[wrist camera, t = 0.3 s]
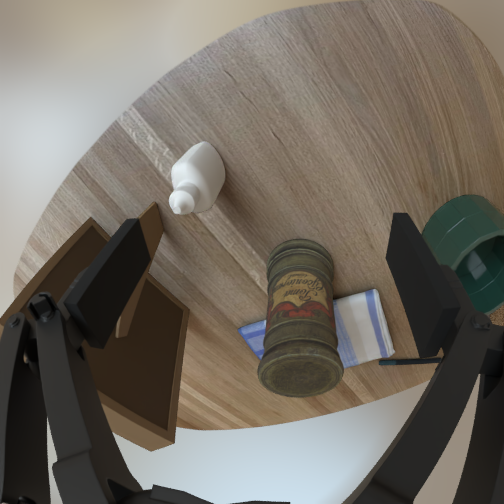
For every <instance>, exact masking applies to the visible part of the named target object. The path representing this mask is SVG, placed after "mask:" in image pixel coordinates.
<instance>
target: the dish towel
mask: <svg viewBox="0 0 504 504" xmlns="http://www.w3.org/2000/svg"><path fill="white" fill-rule="evenodd" d="M333 306H334V315H335V322H336V334H337V337H338V347H337V350H338V353H339V355H340V359H341V361H342V363H343V366H344V368H348V367H351V366H355V365H359V364H361V363H365V362H367V361H371V360H374V359H378V358H383V357H387V358H388V357H389V356H392V355H393V353H395V350H394V349H393V344H392V340H391V336H390V333H389V330H388V326H387V322H386V318H385V315H384V312H383V309H382V305H381V302H380V297H379V293H378V291H377V290H376V289H372V290H368V291H366V292H362V293H358V294H354V295H351V296H347V297H344V298H340V299H336V300H333ZM265 328H266V320H263V321H260V322H256V323H253V324H249V325H246V326H243V327H241V328H239V329H238V332H239V333H240V334H241V335H242V337H243V338H244V339H245V341H246V342H247V344H248V345H249V347H250V348H251V349H252V350H253V352H254V353H255V354H256V355H257V356H258V358H259V359H260V360H261V359H262V356H263V354H264V347H263V339H264V336H265Z"/></svg>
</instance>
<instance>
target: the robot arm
mask: <svg viewBox="0 0 504 504" xmlns="http://www.w3.org/2000/svg"><path fill="white" fill-rule="evenodd" d="M386 260H387V263H388V265H389V268H390V270H391V273H392V276H393V278H394V281H395V284H396V286H397V289H398V292H399V295H400V297H401V300H402V303H403V306H404V309H405V312H406V315H407V318H408V321H409V324H410V327H411V330H412V333H413V337H414V340H415V343H416V346H417V350H418V353H419V357H420V358H425V357H433V356H436V355H437V354H438V352H439V350H440V348H441V347H442V350H443V353H444V356H443V357H442V359H441V361H440V362H439V364H438V366H437V367H436V369H435V370H436V371H435V373H434V375H433V377H432V378H431V380H430V382H429V384H428V386H427V388H426V389H425V391H424V393H423V395H422V396H421V398H420V400H419V401H418V403H417V405H416V406H415V408H414V410H413V411H412V413H411V415H410V416H409V418H408V419H407V421H406V422H405V424H404V426H403V427H402V428H401V430H400V432H399V433H398V434H397V436H396V438H395V439H394V440H393V442H392V443H391V445H390V446H389V447H388V449H387V450H386V451H385V453H384V454H383V456H382V457H381V458H380V459H379V461H378V462H377V464H376V465H375V466H374V467H373V469H372V470H371V471H370V472H369V474H368V475H367V476H366V477H365V478H364V480H363V481H362V482H361V483H360V485H359V486H358V487H357V488H356V489H355V490H354V491H353V493H352V494H351V495H350V496H349V497H348V498H347V499H346V500H345V501H344V502H343V503H342V504H413V501H414V499H415V497H416V495H417V494H418V492H419V491H420V489H421V488H422V486H423V485H424V483H425V482H426V480H427V478H428V477H429V475H430V474H431V472H432V470H433V469H434V467H435V465H436V464H437V462H438V460H439V458H440V457H441V455H442V453H443V451H444V450H445V448H446V446H447V444H448V442H449V440H450V438H451V436H452V434H453V432H454V430H455V428H456V426H457V424H458V422H459V420H460V418H461V416H462V413H463V411H464V409H465V407H466V404H467V402H468V400H469V397H470V395H471V393H472V390H473V387H474V385H475V382H476V380H477V377H478V374H480V384H479V392H478V400H477V407H476V414H475V419H474V425H473V430H472V435H471V440H470V444H469V449H468V453H467V457H466V461H465V465H464V468H463V472H462V475H461V479H460V482H459V485H458V488H457V492H456V495H455V498H454V500H453V503H452V504H504V326H499V325H494V324H492V322H491V320H490V318H489V317H488V316H487V315H486V314H484V313H483V312H480V311H477V310H476V309H475V307H474V305H473V304H472V302H471V300H470V298H469V296H468V294H467V292H466V290H465V289H464V288H463V285H462V283H461V282H460V280H459V278H458V276H457V275H456V273H455V271H453V270H452V269H451V268H450V267H449V266H448V265H439V264H438V262H437V261H436V259H435V257H434V255H433V254H432V252H431V250H430V249H429V247H428V245H427V244H426V242H425V240H424V239H423V237H422V235H421V234H420V232H419V231H418V229H417V227H416V226H415V224H414V223H413V221H412V220H411V218H410V216H409V215H408V213H393V220H392V226H391V232H390V237H389V243H388V248H387V254H386ZM150 261H151V257H150V254H149V251H148V248H147V244H146V241H145V238H144V234H143V231H142V227H141V224H140V221H139V218H134V219H127V220H126V221H125V222H124V223H123V224H122V225H121V227H120V228H119V229H118V230H117V232H116V233H115V234H114V235H113V236H112V238H111V239H110V240H109V241H108V243H107V244H106V245H105V246H104V248H103V249H102V250H101V252H100V253H99V254H98V255H97V257H96V258H95V259H94V261H93V262H92V263H91V265H90V266H89V267H87V268H85V269H84V270H83V271H82V272H80V273H79V274H78V276H77V277H76V278H75V280H74V282H72V284H71V285H70V286H69V287H70V288H68V289H67V291H66V292H65V293H64V295H63V296H62V298H61V299H60V300H59V302H58V303H57V304H56V302H55V301H54V299H53V297H52V295H51V294H50V293H49V292H47V291H46V292H40V293H38V294H36V295H35V296H33V297H32V298H31V299H30V301H29V302H28V305H27V309H28V310H29V312H30V313H31V315H32V316H33V318H34V319H30V320H27V318H26V317H25V315H24V314H23V313H21V312H18V313H15V314H13V315H12V316H10V317H9V318H8V320H7V321H6V323H5V325H4V328H3V332H2V335H1V339H0V504H51V498H50V485H49V473H48V455H47V417H48V422H49V425H50V430H51V435H52V439H53V443H54V446H55V450H56V454H57V462H55V463H53V466H52V470H53V475H54V478H55V481H56V484H57V487H58V490H59V493H60V496H61V499H62V502H63V504H213V503H211V502H208V501H206V500H203V499H201V498H198V497H196V496H194V495H191V494H189V493H187V492H184V491H180V490H175V489H171V488H166V487H161V486H158V485H153V487H152V489H150V490H143V489H142V487H141V486H140V484H139V483H138V482H137V480H136V479H135V478H134V477H133V476H132V474H131V473H130V471H129V469H128V468H127V465H126V463H125V461H124V459H123V457H122V454H121V452H120V450H119V447H118V445H117V443H116V441H115V438H114V436H113V433H112V431H111V428H110V426H109V423H108V420H107V418H106V415H105V412H104V410H103V407H102V404H101V401H100V398H99V395H98V392H97V389H96V386H95V383H94V380H93V377H92V374H91V370H90V367H89V363H88V360H87V356H86V353H85V349H84V347H83V346H82V342H83V341H84V339H85V340H86V341H87V343H88V344H89V346H90V347H93V348H98V349H104V347H105V345H106V343H107V341H108V339H109V337H110V335H111V333H112V331H113V329H114V327H115V325H116V323H117V322H118V320H119V318H120V316H121V314H122V312H123V310H124V308H125V306H126V304H127V303H128V301H129V299H130V297H131V295H132V293H133V292H134V290H135V288H136V286H137V284H138V283H139V281H140V279H141V277H142V275H143V274H144V272H145V270H146V268H147V267H148V265H149V263H150ZM24 356H25V357H26V362H25V361H24ZM232 504H290V502H271V501H248V502H241V503H232Z"/></svg>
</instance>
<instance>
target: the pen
mask: <svg viewBox="0 0 504 504" xmlns="http://www.w3.org/2000/svg"><path fill="white" fill-rule="evenodd" d="M440 361H441V358H431V359H411V360H381V361H379V365H408V364H427V363H439V362H440Z"/></svg>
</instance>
